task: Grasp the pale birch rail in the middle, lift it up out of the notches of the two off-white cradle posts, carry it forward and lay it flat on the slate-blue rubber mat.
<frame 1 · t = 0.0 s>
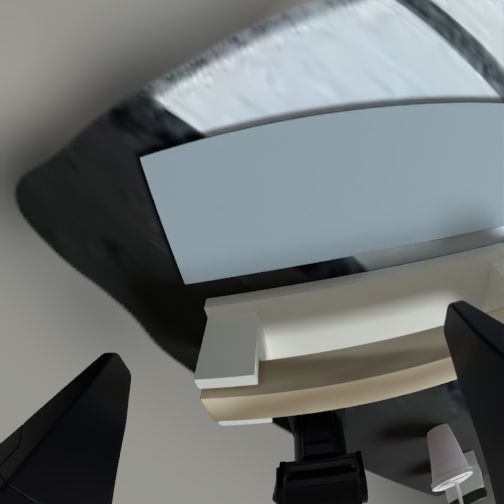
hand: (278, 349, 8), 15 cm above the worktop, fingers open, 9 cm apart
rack: (382, 308, 25), on the worktop
mat: (378, 181, 20), on the worktop
jar: (456, 459, 45), on the worktop
smoothie: (437, 429, 37), on the worktop
rail: (399, 350, 21), point 5 cm above the worktop, touching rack
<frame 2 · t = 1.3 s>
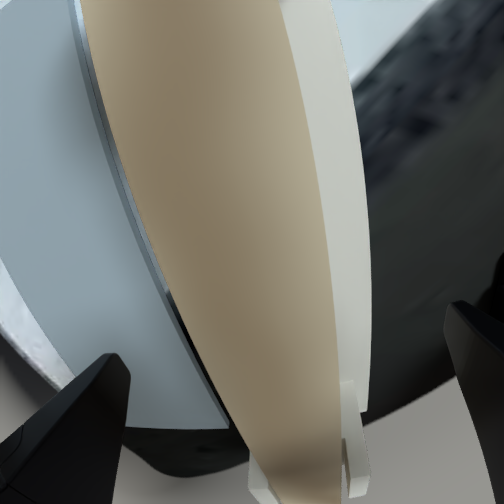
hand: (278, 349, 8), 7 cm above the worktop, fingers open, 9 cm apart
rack: (271, 226, 14), on the worktop
mat: (71, 266, 16), on the worktop
rail: (272, 295, 10), point 5 cm above the worktop, touching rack
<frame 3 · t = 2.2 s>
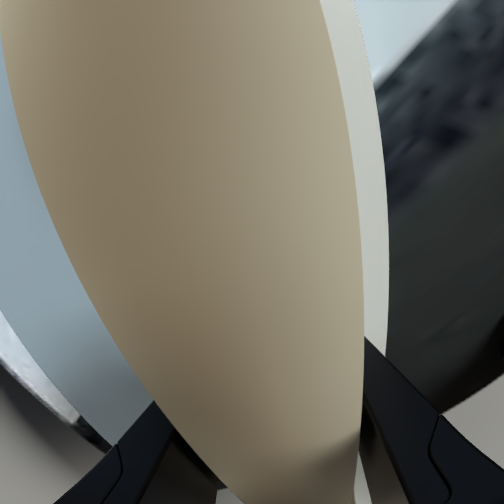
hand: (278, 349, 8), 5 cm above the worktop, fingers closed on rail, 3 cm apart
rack: (275, 251, 12), on the worktop
mat: (53, 289, 14), on the worktop
rail: (277, 349, 8), point 5 cm above the worktop, touching gripper, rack
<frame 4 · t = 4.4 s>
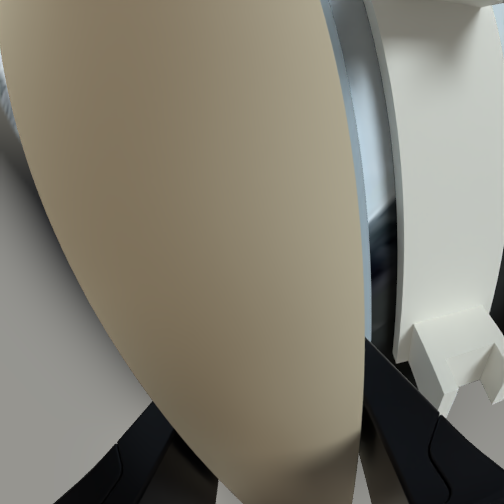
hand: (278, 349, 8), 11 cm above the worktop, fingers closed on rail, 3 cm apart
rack: (453, 171, 16), on the worktop
mat: (272, 199, 17), on the worktop
rail: (277, 349, 8), point 11 cm above the worktop, touching gripper
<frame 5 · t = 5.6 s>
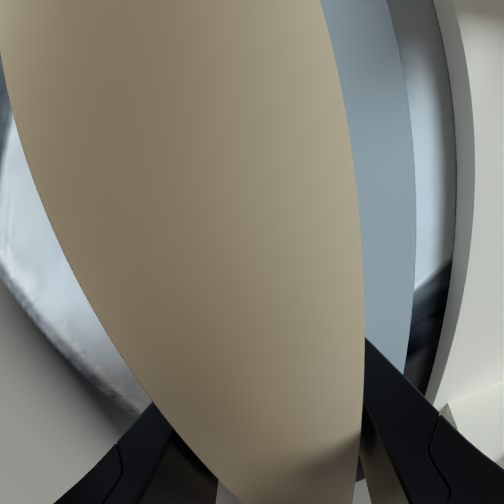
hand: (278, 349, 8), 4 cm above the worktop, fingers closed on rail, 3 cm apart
mat: (273, 265, 11), on the worktop
rail: (277, 349, 8), point 4 cm above the worktop, touching gripper
when the fingers open (2 cm above the worktop, at t = 6.6 s): rail drops 2 cm, resting on mat.
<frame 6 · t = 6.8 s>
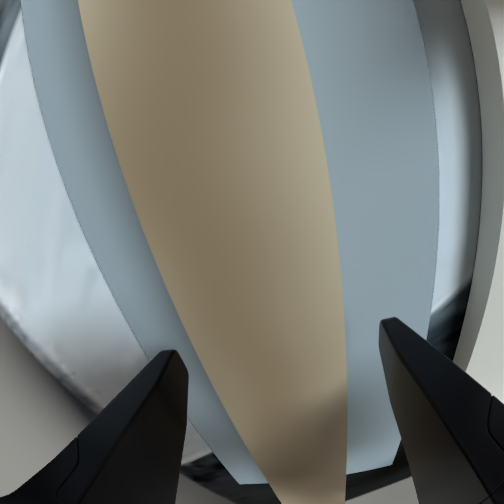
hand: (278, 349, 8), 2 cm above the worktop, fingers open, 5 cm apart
mat: (275, 291, 10), on the worktop
rail: (277, 302, 9), point 1 cm above the worktop, touching mat
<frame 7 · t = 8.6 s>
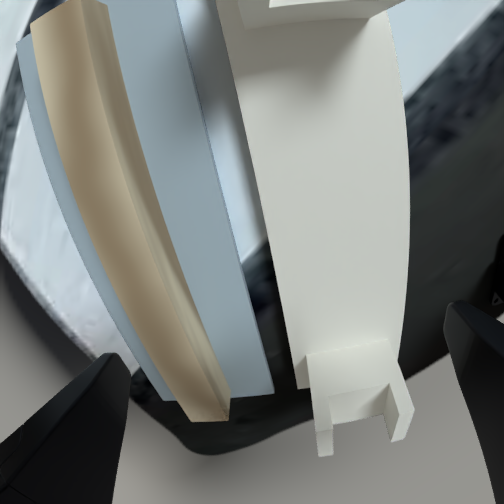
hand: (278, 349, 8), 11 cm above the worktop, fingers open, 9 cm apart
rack: (336, 206, 17), on the worktop
mat: (150, 240, 19), on the worktop
rail: (148, 244, 18), point 1 cm above the worktop, touching mat
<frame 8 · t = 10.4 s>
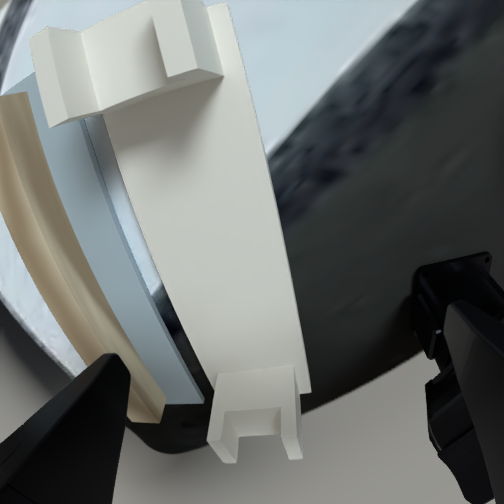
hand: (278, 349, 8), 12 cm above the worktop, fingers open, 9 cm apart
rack: (220, 250, 20), on the worktop
mat: (83, 275, 22), on the worktop
rail: (80, 279, 21), point 1 cm above the worktop, touching mat
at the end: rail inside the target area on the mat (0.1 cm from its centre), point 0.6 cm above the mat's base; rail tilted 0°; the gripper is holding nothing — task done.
